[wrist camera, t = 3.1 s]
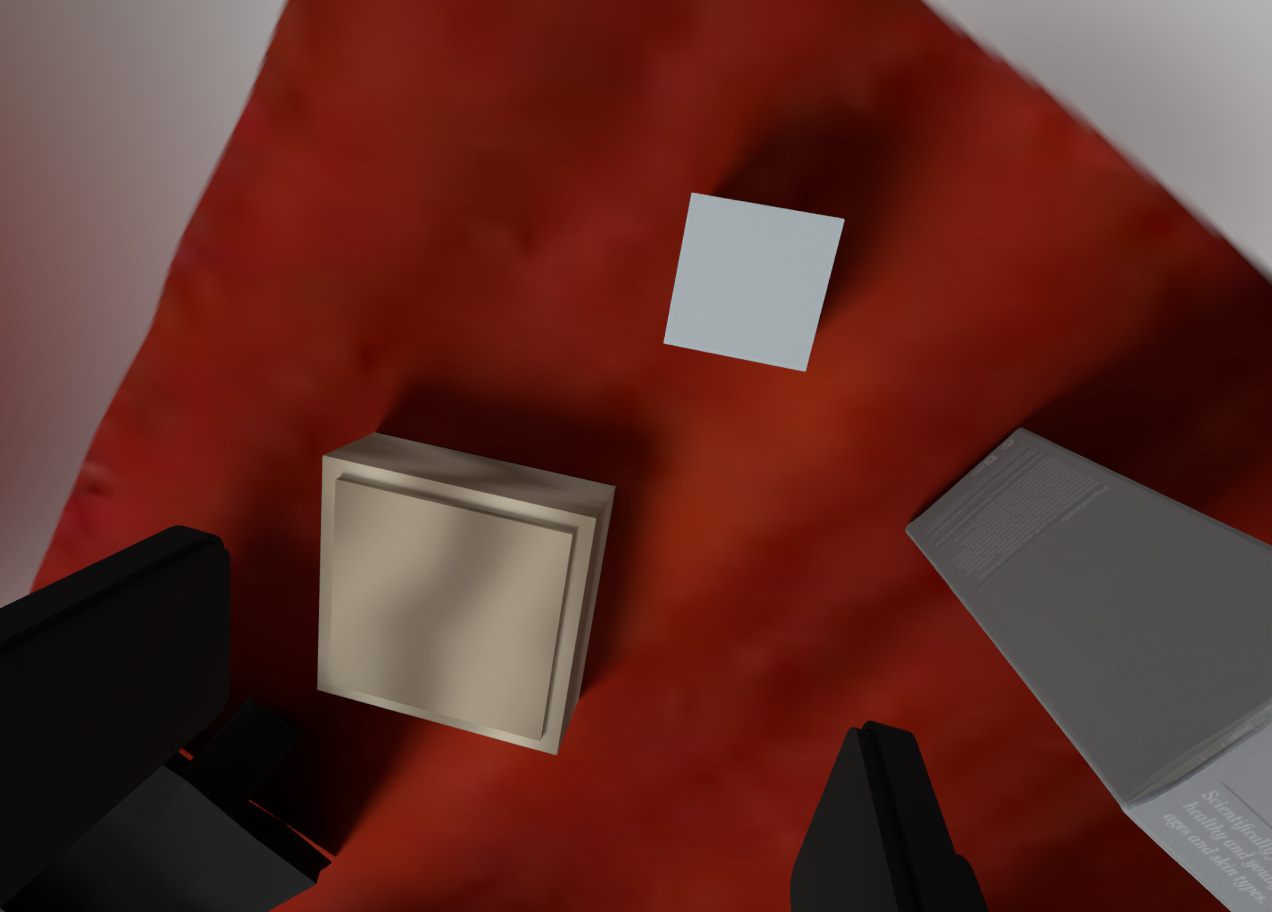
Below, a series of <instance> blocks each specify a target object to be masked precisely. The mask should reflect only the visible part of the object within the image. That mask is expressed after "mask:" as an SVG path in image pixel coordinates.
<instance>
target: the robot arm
mask: <svg viewBox="0 0 1272 912" xmlns="http://www.w3.org/2000/svg"><path fill="white" fill-rule="evenodd" d="M229 696H230V553H229V552H228V550H227V549H225V548H224V544H223V542H222V540H221V538H220V537H218V536H217V535H214V534H211V533H207V532H204V531H200V530H197V529H193V528H190V527H186V526H179V525H176V526H173V527H170V528H168V529H165V530H163V531H161V532H159V533H157V534H155V535H153V536H151V537H149V538H147V539H144V540H142V541H140V542H138V543H136V544H134V545H132V546H130V547H128V548H126V549H123V550H121V551H119V552H117V553H115V554H113V555H111V556H109V557H107V558H105V559H103V560H100V561H98V562H96V563H94V564H92V565H90V566H88V567H86V568H84V569H82V570H79V571H77V572H75V573H73V574H71V575H69V576H67V577H65V578H63V579H61V580H58V581H56V582H54V583H52V584H50V585H48V586H46V587H44V588H42V589H40V590H37V591H35V592H33V593H31V594H29V595H27V596H25V597H23V598H21V599H19V600H16V601H14V602H13V603H10V604H8V605H6V606H4V607H2V608H0V907H2V906H3V905H4V904H5V903H6V902H7V901H8V900H10V899H11V898H12V897H13V896H14V895H15V894H16V893H18V892H19V891H20V890H21V889H22V888H23V887H24V886H25V885H27V884H28V883H29V882H30V881H31V880H32V879H33V878H35V877H36V876H37V875H38V874H39V873H40V872H41V871H43V870H44V869H45V868H46V867H47V866H48V865H49V864H51V863H52V862H53V861H54V860H55V859H56V858H57V857H59V856H60V855H61V854H62V853H63V852H64V851H65V850H66V849H68V848H69V847H70V846H71V845H72V844H73V843H74V842H76V841H77V840H78V839H79V838H80V837H81V836H82V835H84V834H85V833H86V832H87V831H88V830H89V829H90V828H92V827H93V826H94V825H95V824H96V823H97V822H98V821H100V820H101V819H102V818H103V817H104V816H105V815H106V814H107V813H109V812H110V811H111V810H112V809H113V808H114V807H115V806H117V805H118V804H119V803H120V802H121V801H122V800H123V799H125V798H126V797H127V796H128V795H129V794H130V793H131V792H133V791H134V790H135V789H136V788H137V787H138V786H139V785H141V784H142V783H143V782H144V781H145V780H146V779H147V778H148V777H150V776H151V775H152V774H153V773H154V772H155V771H156V770H158V769H159V768H160V767H161V766H162V765H163V764H164V763H166V762H167V761H168V760H169V759H170V758H171V757H172V756H174V755H175V754H176V753H177V752H178V751H179V750H180V749H182V748H183V747H184V746H185V745H186V744H187V743H188V742H189V741H191V740H192V739H193V738H194V737H195V736H196V735H197V734H199V733H200V732H201V731H202V730H203V729H204V728H205V727H207V726H208V725H209V724H210V723H211V722H212V721H213V720H215V719H216V718H217V717H218V716H219V714H220V713H221V712H222V710H223V709H224V707H225V706H226V704H227V702H228V699H229ZM790 900H791V912H989V911H988V908H987V905H986V903H985V900H984V897H983V895H982V892H981V889H980V886H979V884H978V881H977V878H976V876H975V874H974V872H973V870H972V868H971V866H970V864H969V862H968V861H967V860H966V859H965V858H964V857H963V856H961V855H958V854H956V853H955V850H954V847H953V844H952V841H951V839H950V836H949V833H948V830H947V827H946V824H945V821H944V819H943V816H942V813H941V810H940V807H939V804H938V801H937V798H936V796H935V793H934V790H933V787H932V784H931V781H930V778H929V776H928V773H927V770H926V767H925V764H924V761H923V758H922V756H921V753H920V750H919V747H918V744H917V741H916V739H915V737H914V735H913V734H912V733H911V732H909V731H906V730H902V729H899V728H895V727H892V726H888V725H885V724H881V723H878V722H874V721H867V722H866V723H865V724H864V725H863V727H862V729H859V728H855V727H851V728H850V729H849V730H848V732H847V734H846V737H845V739H844V742H843V744H842V747H841V749H840V752H839V754H838V757H837V759H836V762H835V764H834V767H833V769H832V772H831V774H830V777H829V779H828V782H827V784H826V787H825V789H824V792H823V794H822V797H821V799H820V802H819V804H818V807H817V809H816V812H815V814H814V817H813V819H812V822H811V824H810V827H809V829H808V832H807V834H806V837H805V839H804V842H803V844H802V847H801V849H800V852H799V854H798V857H797V859H796V862H795V864H794V867H793V872H792V877H791V885H790Z"/></svg>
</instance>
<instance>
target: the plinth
mask: <svg viewBox="0 0 1272 912" xmlns="http://www.w3.org/2000/svg"><path fill="white" fill-rule="evenodd" d="M615 488H616V486H612V485H607V484H603V483H598V482H594V481H589V480H585V479H580V478H576V477H571V476H567V475H563V474H558V473H554V472H549V471H545V470H540V469H536V468H531V467H527V466H522V465H518V464H513V463H509V462H504V461H500V460H495V459H491V458H487V457H482V456H478V455H473V454H469V453H464V452H460V451H455V450H451V449H446V448H442V447H437V446H433V445H428V444H424V443H419V442H415V441H411V440H406V439H402V438H397V437H393V436H388V435H384V434H379V433H373V434H370V435H368V436H366V437H363V438H361V439H359V440H357V441H354V442H352V443H350V444H348V445H345V446H343V447H341V448H339V449H336V450H334V451H332V452H330V453H327V454H325V455H323V472H322V514H321V557H320V599H319V641H318V684H317V690H320V691H324V692H327V693H331V694H335V695H338V696H342V697H346V698H349V699H353V700H357V701H360V702H364V703H368V704H371V705H375V706H379V707H382V708H386V709H390V710H393V711H397V712H401V713H404V714H408V715H412V716H415V717H419V718H423V719H426V720H430V721H434V722H437V723H441V724H445V725H448V726H452V727H456V728H459V729H463V730H466V731H470V732H474V733H477V734H481V735H485V736H488V737H492V738H496V739H499V740H503V741H507V742H510V743H514V744H518V745H521V746H525V747H529V748H532V749H536V750H540V751H543V752H547V753H551V754H554V755H557V753H558V751H559V748H560V746H561V743H562V741H563V738H564V736H565V733H566V731H567V728H568V725H569V723H570V720H571V718H572V715H573V713H574V710H575V708H576V705H577V703H578V700H579V695H580V689H581V683H582V677H583V672H584V666H585V660H586V654H587V649H588V643H589V637H590V631H591V626H592V620H593V614H594V608H595V603H596V597H597V591H598V585H599V580H600V574H601V568H602V562H603V557H604V551H605V545H606V539H607V534H608V528H609V522H610V516H611V511H612V505H613V499H614V493H615Z"/></svg>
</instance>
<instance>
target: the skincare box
mask: <svg viewBox="0 0 1272 912" xmlns="http://www.w3.org/2000/svg"><path fill="white" fill-rule="evenodd" d="M905 531H906V533H907V534H908V535H909V537H910V538H911V539H912V540H913V541H914V543H915V544H916V545H917V546H918V547H919V549H920V550H921V551H922V552H923V553H924V555H925V556H926V557H927V559H928V560H929V561H930V562H931V564H932V565H933V566H934V567H935V569H936V570H937V571H938V573H939V574H940V575H941V576H942V578H943V579H944V580H945V581H946V582H947V584H948V585H949V586H950V588H951V589H952V590H953V592H954V593H955V594H956V596H957V597H958V598H959V599H960V601H961V602H962V603H963V604H964V606H965V607H966V608H967V609H968V611H969V612H970V613H971V614H972V616H973V617H974V618H975V619H976V621H977V622H978V623H979V625H980V626H981V627H982V628H983V630H984V631H985V632H986V633H987V635H988V636H989V637H990V639H991V640H992V641H993V642H994V644H995V645H996V646H997V648H998V649H999V650H1000V651H1001V653H1002V654H1003V655H1004V656H1005V658H1006V659H1007V660H1008V662H1009V663H1010V664H1011V665H1012V667H1013V668H1014V669H1015V671H1016V672H1017V673H1018V674H1019V676H1020V677H1021V678H1022V679H1023V681H1024V682H1025V683H1026V685H1027V686H1028V687H1029V688H1030V690H1031V691H1032V692H1033V694H1034V695H1035V696H1036V697H1037V699H1038V700H1039V701H1040V702H1041V704H1042V705H1043V706H1044V708H1045V709H1046V710H1047V711H1048V713H1049V714H1050V715H1051V717H1052V718H1053V719H1054V720H1055V722H1056V723H1057V724H1058V725H1059V727H1060V728H1061V729H1062V731H1063V732H1064V733H1065V734H1066V736H1067V737H1068V738H1069V740H1070V741H1071V742H1072V743H1073V745H1074V746H1075V747H1076V748H1077V750H1078V751H1079V752H1080V754H1081V755H1082V756H1083V757H1084V759H1085V760H1086V761H1087V763H1088V764H1089V765H1090V766H1091V768H1092V769H1093V770H1094V772H1095V773H1096V774H1097V775H1098V777H1099V778H1100V779H1101V781H1102V782H1103V783H1104V785H1105V786H1106V787H1107V789H1108V790H1109V791H1110V793H1111V794H1112V795H1113V797H1114V798H1115V799H1116V801H1117V802H1118V803H1119V804H1120V806H1121V808H1122V810H1123V812H1124V813H1125V814H1126V815H1127V816H1129V817H1130V818H1131V819H1132V820H1133V821H1134V822H1135V823H1136V824H1137V825H1138V826H1139V827H1140V828H1141V829H1142V830H1143V831H1144V832H1145V833H1146V834H1147V835H1148V836H1150V837H1151V838H1152V839H1153V840H1154V841H1155V842H1156V843H1157V844H1158V845H1159V846H1160V847H1161V848H1162V849H1163V850H1165V851H1166V852H1167V853H1168V854H1169V855H1170V856H1171V857H1172V858H1173V859H1174V860H1176V861H1177V862H1178V863H1179V864H1180V865H1181V866H1182V867H1183V868H1184V869H1186V870H1187V871H1188V872H1189V873H1190V874H1191V875H1192V876H1193V877H1194V878H1195V879H1197V880H1198V881H1199V882H1200V883H1201V884H1202V885H1203V886H1204V887H1205V888H1206V889H1207V890H1208V891H1210V892H1211V893H1212V894H1213V895H1214V896H1215V897H1216V898H1217V899H1218V900H1219V901H1220V902H1221V903H1223V904H1224V905H1225V906H1226V907H1227V908H1228V909H1229V910H1230V911H1231V912H1272V546H1270V545H1268V544H1266V543H1264V542H1262V541H1260V540H1258V539H1256V538H1254V537H1251V536H1249V535H1247V534H1245V533H1243V532H1241V531H1239V530H1237V529H1234V528H1232V527H1230V526H1228V525H1226V524H1224V523H1222V522H1220V521H1217V520H1215V519H1213V518H1211V517H1209V516H1207V515H1205V514H1203V513H1201V512H1198V511H1196V510H1194V509H1192V508H1190V507H1188V506H1186V505H1184V504H1181V503H1179V502H1177V501H1175V500H1173V499H1171V498H1169V497H1167V496H1164V495H1162V494H1160V493H1158V492H1156V491H1154V490H1152V489H1150V488H1148V487H1146V486H1144V485H1142V484H1139V483H1137V482H1135V481H1133V480H1131V479H1129V478H1127V477H1125V476H1122V475H1120V474H1118V473H1116V472H1114V471H1112V470H1110V469H1108V468H1105V467H1103V466H1101V465H1099V464H1097V463H1095V462H1093V461H1091V460H1089V459H1086V458H1084V457H1082V456H1080V455H1078V454H1076V453H1074V452H1072V451H1069V450H1067V449H1065V448H1063V447H1061V446H1059V445H1057V444H1055V443H1053V442H1051V441H1049V440H1047V439H1045V438H1043V437H1041V436H1039V435H1037V434H1035V433H1032V432H1030V431H1028V430H1026V429H1024V428H1019V429H1017V430H1016V431H1015V432H1014V433H1013V434H1012V435H1011V436H1009V437H1008V438H1007V439H1006V440H1005V441H1004V442H1003V443H1002V444H1001V445H999V446H998V447H997V448H996V449H995V450H994V451H993V452H991V453H990V454H989V455H988V456H987V457H986V458H985V459H984V460H982V461H981V462H980V463H979V464H978V465H977V466H976V467H975V468H973V469H972V470H971V471H970V472H969V473H968V474H967V475H966V476H965V477H963V478H962V479H961V480H960V481H959V482H958V483H957V484H956V485H954V486H953V487H952V488H951V489H950V490H949V491H948V492H947V493H945V494H944V495H943V496H942V497H941V498H940V499H939V500H937V501H936V502H935V503H934V504H933V505H932V506H931V507H929V508H928V509H927V510H926V511H925V512H924V513H923V514H922V515H920V516H919V517H918V518H917V519H915V520H914V521H912V522H911V523H910V524H909V525H908V526H907V527H906V530H905Z"/></svg>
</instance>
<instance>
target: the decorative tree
mask: <svg viewBox="0 0 1272 912" xmlns="http://www.w3.org/2000/svg"><path fill="white" fill-rule="evenodd" d="M301 738H302V735H301V734H300V733H299V732H298V731H297V730H295V729H294V728H293V727H291V726H290V725H289V724H288V723H286V722H285V721H284V720H282V719H281V718H280V717H278V716H277V715H275V714H274V713H273V712H271V711H270V710H268V709H267V708H265V707H264V706H262V705H261V704H260V703H258V702H256V701H255V700H253V699H251V698H248V699H247V701H246V702H245V703H244V704H243V705H242V706H241V707H240V708H239V709H238V710H237V711H236V712H235V713H234V714H233V716H232V717H231V718H230V719H229V720H228V721H227V722H226V723H225V724H224V725H223V726H222V727H221V728H220V730H219V731H218V732H217V733H216V734H215V735H214V736H213V737H212V738H211V739H210V740H209V741H208V742H207V743H206V745H205V746H204V747H203V748H202V749H201V750H200V751H199V752H198V753H197V754H196V755H195V756H194V757H193V759H192V760H191V761H190V760H189V759H187V758H186V757H185V756H183V755H182V754H181V753H179V752H177V753H176V754H175V755H174V756H172V757H171V758H170V759H169V760H168V761H167V762H166V763H164V764H163V765H162V766H161V767H160V768H159V769H158V770H156V771H155V772H154V773H153V774H152V775H151V776H150V777H148V778H147V779H146V780H145V781H144V782H143V783H142V784H141V785H139V786H138V787H137V788H136V789H135V790H134V791H133V792H131V793H130V794H129V795H128V796H127V797H126V798H125V799H123V800H122V801H121V802H120V803H119V804H118V805H117V806H115V807H114V808H113V809H112V810H111V811H110V812H109V813H107V814H106V815H105V816H104V817H103V818H102V819H101V820H100V821H98V822H97V823H96V824H95V825H94V826H93V827H92V828H90V829H89V830H88V831H87V832H86V833H85V834H84V835H82V836H81V837H80V838H79V839H78V840H77V841H76V842H74V843H73V844H72V845H71V846H70V847H69V848H68V849H66V850H65V851H64V852H63V853H62V854H61V855H60V856H59V857H57V858H56V859H55V860H54V861H53V862H52V863H51V864H49V865H48V866H47V867H46V868H45V869H44V870H43V871H41V872H40V873H39V874H38V875H37V876H36V877H35V878H33V879H32V880H31V881H30V882H29V883H28V884H27V885H25V886H24V887H23V888H22V889H21V890H20V891H19V892H18V893H16V894H15V895H14V896H13V897H12V898H11V899H10V900H8V901H7V902H6V903H5V904H4V905H3V906H2V907H0V912H268V911H270V910H271V909H273V908H275V907H277V906H278V905H280V904H282V903H284V902H285V901H287V900H289V899H291V898H293V897H294V896H296V895H298V894H300V893H301V892H303V891H305V890H307V889H308V888H310V887H312V886H314V885H316V884H317V880H318V877H319V873H320V871H322V870H323V869H325V868H326V867H327V866H328V865H329V864H330V863H332V862H331V861H330V860H329V859H327V858H326V857H325V856H324V855H323V854H321V853H320V852H319V851H318V850H316V849H315V848H314V847H313V846H312V845H310V844H309V843H308V842H307V841H305V840H304V839H303V838H302V837H301V836H299V835H298V834H297V833H296V832H295V831H293V830H292V829H291V828H290V827H288V826H287V825H286V824H285V823H284V822H282V821H280V820H279V819H277V818H275V817H274V816H272V815H270V814H269V813H267V812H265V811H264V810H262V809H261V808H259V807H257V806H256V805H254V804H252V803H251V802H249V799H250V798H251V797H252V796H253V795H254V793H255V792H256V791H257V790H258V789H259V788H260V786H261V785H262V784H263V783H264V782H265V780H266V779H267V778H268V777H269V776H270V774H271V773H272V772H273V771H274V770H275V769H276V767H277V766H278V765H279V764H280V763H281V761H282V760H283V759H284V758H285V757H286V755H287V754H288V753H289V752H290V751H291V750H292V748H293V747H294V746H295V745H296V744H297V742H298V741H299V740H300V739H301Z"/></svg>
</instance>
